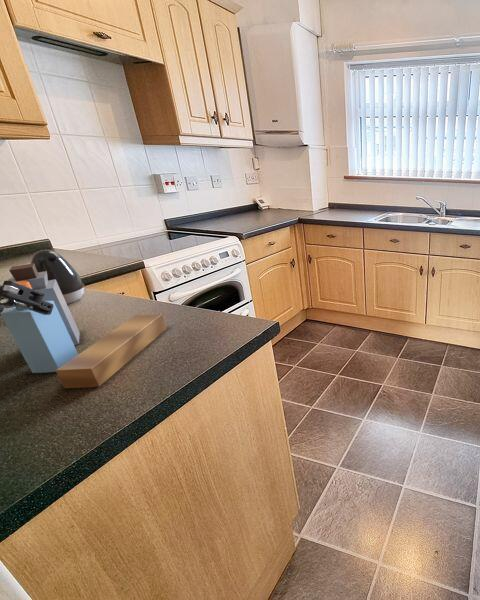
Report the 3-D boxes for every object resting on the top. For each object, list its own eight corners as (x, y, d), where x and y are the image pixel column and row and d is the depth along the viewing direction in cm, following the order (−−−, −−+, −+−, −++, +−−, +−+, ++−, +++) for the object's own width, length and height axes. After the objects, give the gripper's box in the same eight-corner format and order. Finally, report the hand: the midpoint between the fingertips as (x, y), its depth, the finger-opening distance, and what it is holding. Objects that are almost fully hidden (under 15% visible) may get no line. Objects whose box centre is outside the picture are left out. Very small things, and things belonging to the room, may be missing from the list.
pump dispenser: (52, 311, 90) (27, 257, 84) (34, 305, 94) (8, 252, 88) (97, 298, 99) (76, 247, 93) (78, 292, 103) (57, 243, 97)
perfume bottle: (40, 342, 76) (0, 266, 68) (79, 332, 80) (46, 259, 72) (36, 355, 71) (-6, 274, 64) (78, 344, 75) (43, 267, 68)
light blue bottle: (80, 357, 70) (59, 371, 65) (54, 358, 70) (32, 373, 65) (43, 278, 63) (17, 288, 58) (14, 279, 63) (-14, 289, 58)
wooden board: (99, 386, 61) (91, 368, 59) (64, 388, 61) (54, 370, 59) (166, 328, 81) (161, 313, 80) (140, 329, 81) (135, 314, 79)
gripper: (-160, 299, 45) (-24, 332, 60) (-45, 295, 46) (60, 328, 61) (-132, 250, 48) (-9, 293, 63) (-24, 247, 49) (72, 290, 64)
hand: (25, 310), depth 62 cm, fingers open, 8 cm apart
